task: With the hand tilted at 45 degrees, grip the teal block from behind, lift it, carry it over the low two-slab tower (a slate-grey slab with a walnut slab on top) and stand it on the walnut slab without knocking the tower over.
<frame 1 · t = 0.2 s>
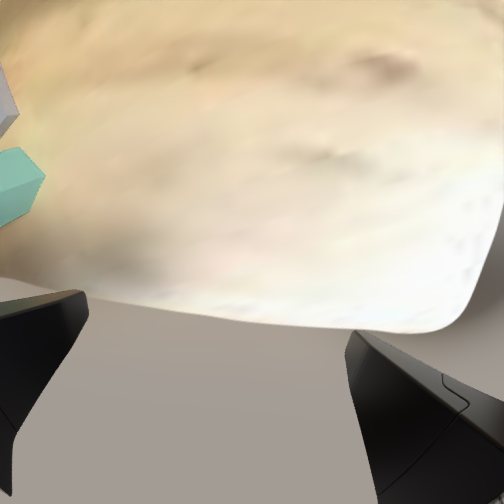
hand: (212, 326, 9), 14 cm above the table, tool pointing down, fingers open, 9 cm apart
teal block: (23, 179, 22), on the table
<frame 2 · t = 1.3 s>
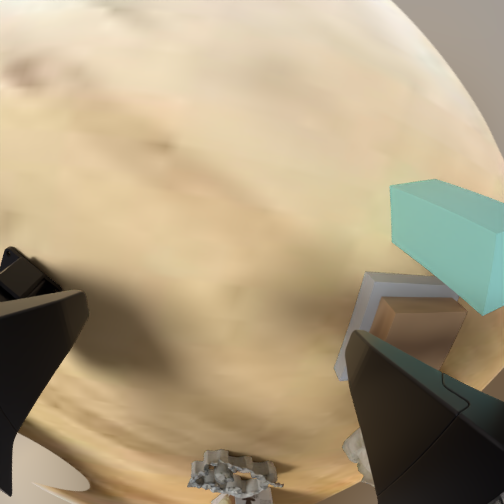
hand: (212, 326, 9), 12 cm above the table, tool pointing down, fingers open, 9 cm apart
grey jagged round piece: (404, 421, 33), on the table
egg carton: (233, 464, 33), on the table
walnut slab: (404, 336, 24), point 2 cm above the table, touching slate slab
teal block: (414, 210, 22), on the table
slate slab: (392, 320, 26), on the table, touching walnut slab
coffee box: (239, 493, 37), on the table
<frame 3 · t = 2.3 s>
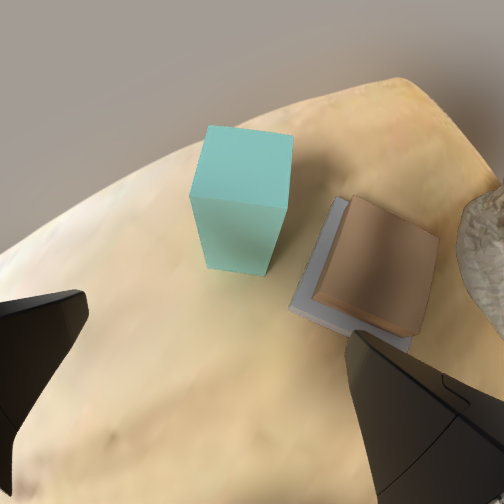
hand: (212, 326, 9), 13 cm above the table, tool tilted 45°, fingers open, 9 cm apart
grey jagged round piece: (502, 264, 26), on the table
walnut slab: (374, 272, 23), point 2 cm above the table, touching slate slab
teal block: (240, 245, 25), on the table
slate slab: (361, 281, 25), on the table, touching walnut slab
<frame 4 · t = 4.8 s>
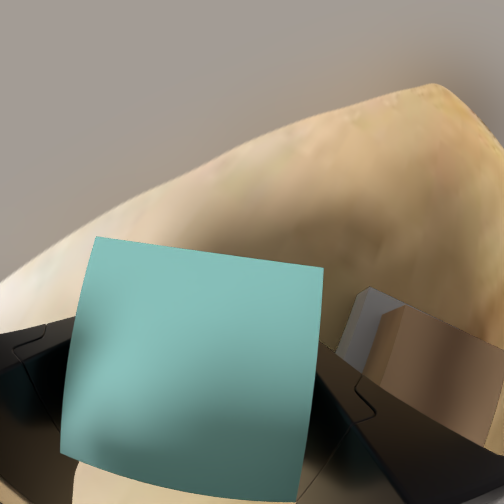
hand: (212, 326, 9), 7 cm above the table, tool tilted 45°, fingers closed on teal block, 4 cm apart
walnut slab: (417, 407, 13), point 2 cm above the table, touching slate slab
teal block: (217, 367, 15), on the table, touching gripper
slate slab: (393, 402, 15), on the table, touching walnut slab
when the fingers open (12 cm above the table, at t = 7.6 s): teal block drops 2 cm, resting on walnut slab.
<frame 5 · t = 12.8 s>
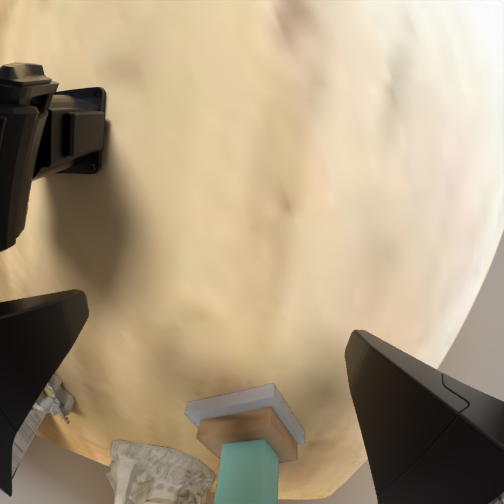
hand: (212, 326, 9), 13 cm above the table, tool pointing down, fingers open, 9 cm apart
grey jagged round piece: (164, 465, 39), on the table
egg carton: (45, 375, 32), on the table
walnut slab: (250, 432, 29), point 2 cm above the table, touching slate slab, teal block
teal block: (251, 451, 27), point 4 cm above the table, touching walnut slab
slate slab: (248, 414, 32), on the table, touching walnut slab
coffee box: (22, 390, 34), on the table
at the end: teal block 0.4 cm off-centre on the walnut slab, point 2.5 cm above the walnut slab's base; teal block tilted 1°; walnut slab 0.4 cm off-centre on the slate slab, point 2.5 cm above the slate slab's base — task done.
